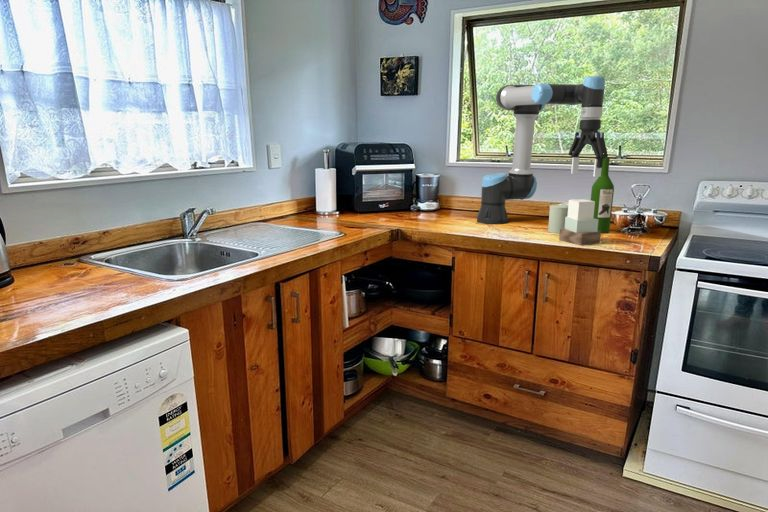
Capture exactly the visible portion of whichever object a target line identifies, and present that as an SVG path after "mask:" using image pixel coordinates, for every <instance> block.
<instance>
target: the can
mask: <svg viewBox="0 0 768 512" xmlns="http://www.w3.org/2000/svg"><path fill="white" fill-rule="evenodd" d="M567 216H568V205H559V204H551V205H549V215H548V226H547V232H548V233H551V234H559V235H560V229H565V217H567Z"/></svg>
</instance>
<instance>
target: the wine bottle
mask: <svg viewBox="0 0 768 512" xmlns="http://www.w3.org/2000/svg"><path fill="white" fill-rule="evenodd" d="M610 159H611V158H610V157H609V156H608V157H607V158H604V159H603V165H602V168H601V177H598V178H596V180H595V181H594V182H593V184H592V186H591V193H590V201H595V207H594V217H593V218H595V219H598V230H597V231H601V235H602V234H609V232H610V230H611V219H612V212H613V210H612V209H613V202H614V200H613V199H614V192H615V185H614V184H613V181H612V180H611V178H610V176H609V170H610Z"/></svg>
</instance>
